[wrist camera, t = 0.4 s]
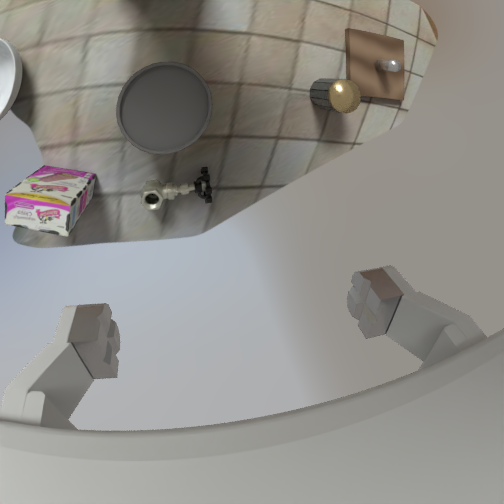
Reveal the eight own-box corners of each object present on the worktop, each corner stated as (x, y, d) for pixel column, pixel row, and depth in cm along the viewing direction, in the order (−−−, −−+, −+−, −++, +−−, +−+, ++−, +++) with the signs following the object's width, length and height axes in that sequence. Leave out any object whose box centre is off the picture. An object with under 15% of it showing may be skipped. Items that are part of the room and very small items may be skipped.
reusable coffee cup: (203, 134, 50) (215, 151, 38) (132, 142, 48) (119, 162, 35) (201, 65, 44) (214, 56, 31) (127, 73, 41) (111, 67, 29)
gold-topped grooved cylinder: (309, 78, 49) (330, 78, 42) (337, 79, 50) (360, 80, 44) (310, 108, 52) (330, 112, 46) (337, 108, 53) (360, 113, 47)
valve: (145, 206, 54) (208, 196, 57) (143, 221, 49) (213, 209, 51) (139, 173, 51) (205, 162, 53) (135, 184, 45) (209, 171, 48)
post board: (345, 29, 45) (349, 28, 44) (399, 40, 48) (403, 40, 46) (346, 94, 52) (350, 95, 51) (399, 99, 55) (403, 100, 54)
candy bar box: (97, 171, 48) (72, 205, 35) (93, 197, 50) (69, 239, 37) (43, 163, 44) (3, 193, 30) (40, 188, 46) (3, 226, 32)
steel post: (374, 59, 48) (391, 59, 43) (383, 60, 48) (400, 61, 44) (374, 70, 49) (391, 70, 44) (383, 71, 50) (401, 72, 45)
